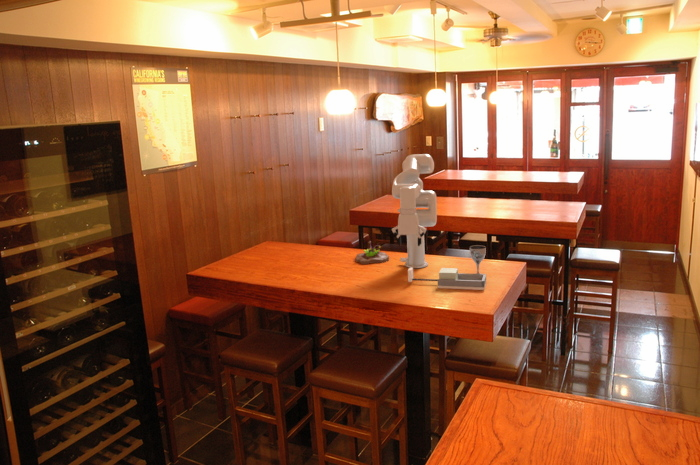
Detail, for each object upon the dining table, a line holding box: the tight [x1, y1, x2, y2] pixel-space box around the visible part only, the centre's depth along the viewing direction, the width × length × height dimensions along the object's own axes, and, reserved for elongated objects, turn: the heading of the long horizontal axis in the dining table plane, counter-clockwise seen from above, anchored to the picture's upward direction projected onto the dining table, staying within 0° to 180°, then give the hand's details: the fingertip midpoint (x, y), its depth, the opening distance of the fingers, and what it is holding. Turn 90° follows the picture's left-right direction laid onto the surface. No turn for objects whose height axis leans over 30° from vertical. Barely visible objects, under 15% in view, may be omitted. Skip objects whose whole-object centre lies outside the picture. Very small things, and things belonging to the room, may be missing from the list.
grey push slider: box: [407, 267, 459, 283], centre depth 281 cm, size 24×8×6 cm, turn 72°
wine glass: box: [469, 244, 487, 274], centre depth 290 cm, size 8×8×15 cm
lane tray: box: [437, 272, 487, 291], centre depth 277 cm, size 22×12×4 cm, turn 72°
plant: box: [354, 240, 390, 265], centre depth 334 cm, size 20×20×11 cm
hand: (409, 245), depth 282 cm, fingers open, 9 cm apart
